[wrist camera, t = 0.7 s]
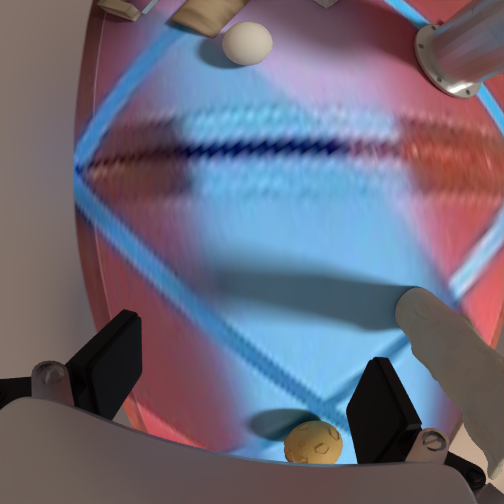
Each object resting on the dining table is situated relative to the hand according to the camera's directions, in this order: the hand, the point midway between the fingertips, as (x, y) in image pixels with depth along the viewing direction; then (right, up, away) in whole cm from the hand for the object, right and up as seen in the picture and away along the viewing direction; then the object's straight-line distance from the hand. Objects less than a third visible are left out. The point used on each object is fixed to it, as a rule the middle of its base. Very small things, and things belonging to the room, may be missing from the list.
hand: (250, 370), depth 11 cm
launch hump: (-4, +42, +23) cm, 47 cm away
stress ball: (+11, -27, +34) cm, 44 cm away
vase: (+24, -4, +27) cm, 36 cm away
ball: (0, +29, +17) cm, 34 cm away
